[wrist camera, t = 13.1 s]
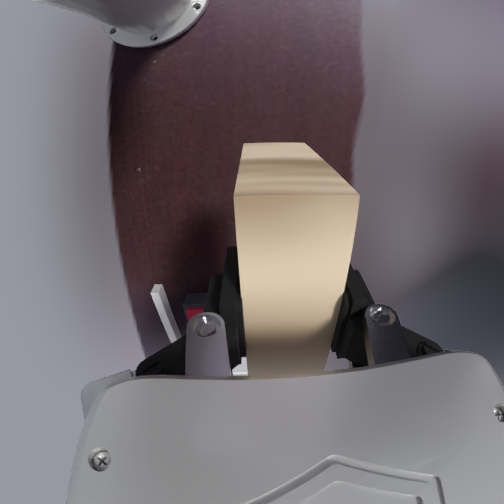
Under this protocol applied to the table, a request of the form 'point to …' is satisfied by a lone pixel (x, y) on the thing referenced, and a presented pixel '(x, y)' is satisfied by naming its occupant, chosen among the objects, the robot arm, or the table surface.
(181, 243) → the table surface
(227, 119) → the table surface
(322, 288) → the block
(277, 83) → the table surface
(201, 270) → the table surface
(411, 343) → the robot arm
